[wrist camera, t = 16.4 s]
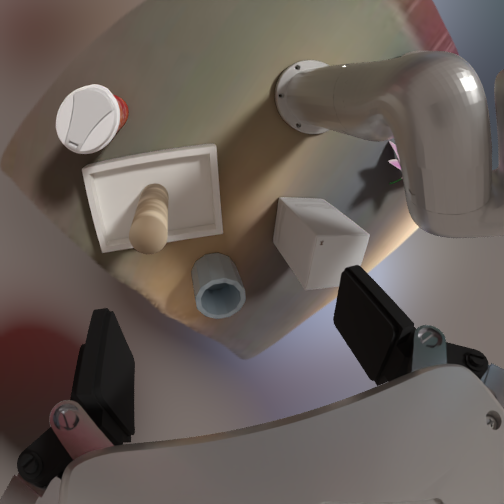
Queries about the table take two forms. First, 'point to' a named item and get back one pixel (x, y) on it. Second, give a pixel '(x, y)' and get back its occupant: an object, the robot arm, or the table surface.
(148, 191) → the dowel
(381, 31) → the table surface
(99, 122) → the paper cup
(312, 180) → the table surface
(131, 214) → the tray
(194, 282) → the cup
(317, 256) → the supplement box
